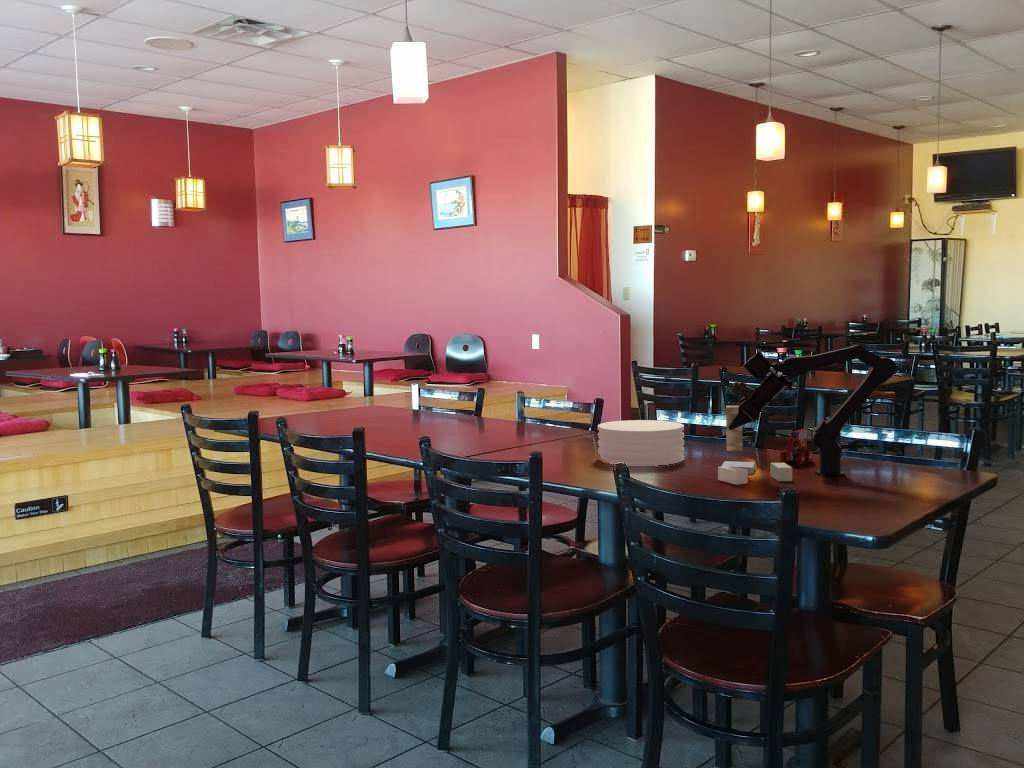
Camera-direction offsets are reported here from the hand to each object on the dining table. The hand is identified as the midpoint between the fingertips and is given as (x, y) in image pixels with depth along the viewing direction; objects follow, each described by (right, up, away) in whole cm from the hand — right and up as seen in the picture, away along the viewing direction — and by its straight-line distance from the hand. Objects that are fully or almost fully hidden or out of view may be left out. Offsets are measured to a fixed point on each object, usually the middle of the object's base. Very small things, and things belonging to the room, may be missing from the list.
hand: (729, 427), depth 264 cm
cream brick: (-2, -15, -14) cm, 20 cm away
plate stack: (-23, -12, +27) cm, 37 cm away
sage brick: (+12, -14, -11) cm, 22 cm away
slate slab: (+3, -14, +2) cm, 14 cm away
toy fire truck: (+25, -12, +14) cm, 31 cm away
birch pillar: (+2, -7, 0) cm, 7 cm away
